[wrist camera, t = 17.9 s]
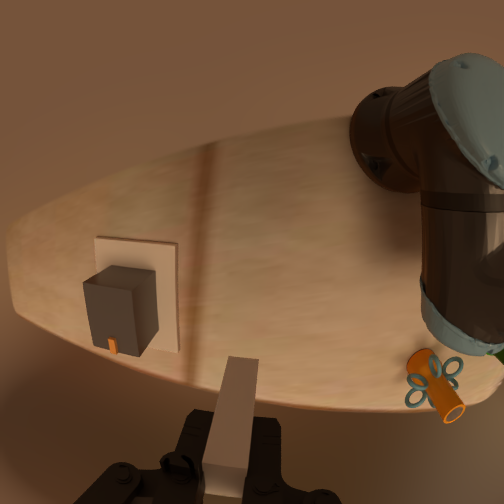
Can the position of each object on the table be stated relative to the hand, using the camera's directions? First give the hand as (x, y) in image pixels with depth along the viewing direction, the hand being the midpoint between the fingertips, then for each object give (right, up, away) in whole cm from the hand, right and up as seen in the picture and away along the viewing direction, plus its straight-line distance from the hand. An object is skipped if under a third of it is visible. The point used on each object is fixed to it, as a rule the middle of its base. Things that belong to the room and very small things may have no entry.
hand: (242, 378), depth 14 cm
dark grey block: (-18, -1, +28) cm, 33 cm away
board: (-18, 0, +29) cm, 34 cm away
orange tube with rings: (+31, -14, +29) cm, 45 cm away
